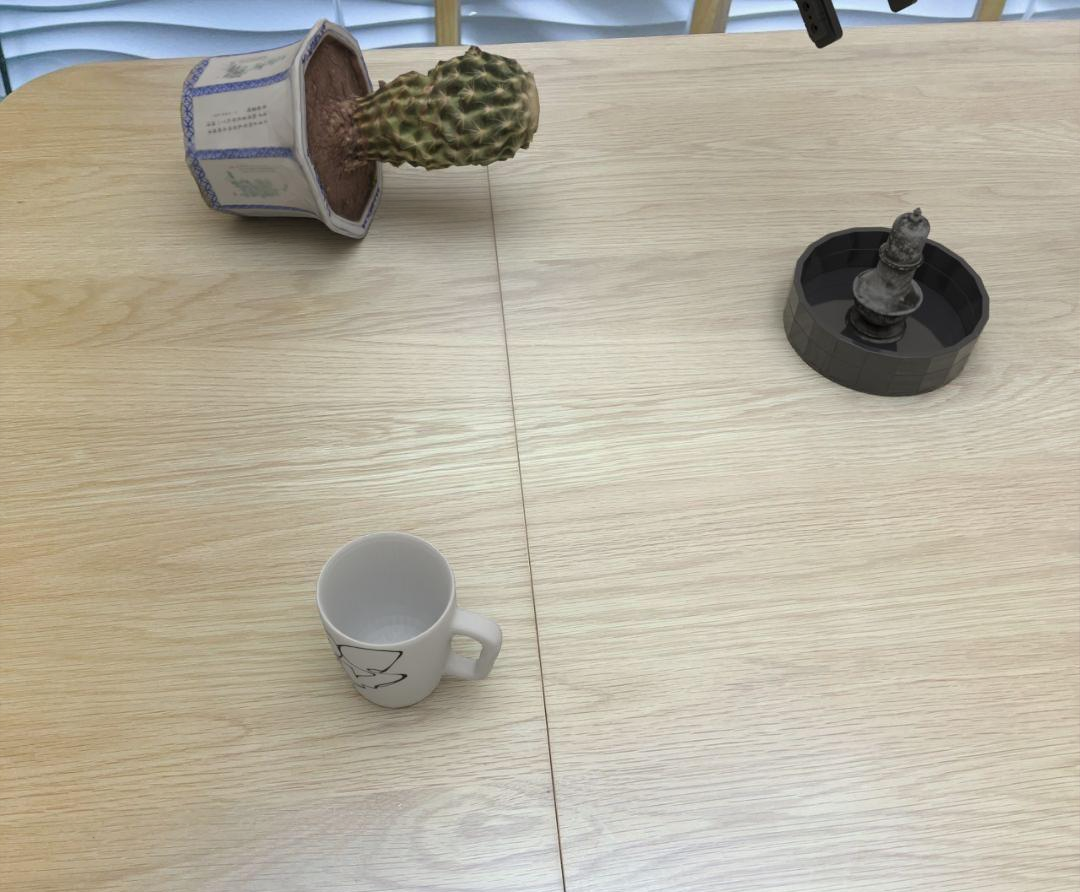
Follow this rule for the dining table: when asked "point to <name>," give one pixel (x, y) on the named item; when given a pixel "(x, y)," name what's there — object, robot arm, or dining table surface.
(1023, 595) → the dining table surface
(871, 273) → the grey chess piece
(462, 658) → the mug
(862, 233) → the pan
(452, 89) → the potted plant
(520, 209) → the dining table surface
